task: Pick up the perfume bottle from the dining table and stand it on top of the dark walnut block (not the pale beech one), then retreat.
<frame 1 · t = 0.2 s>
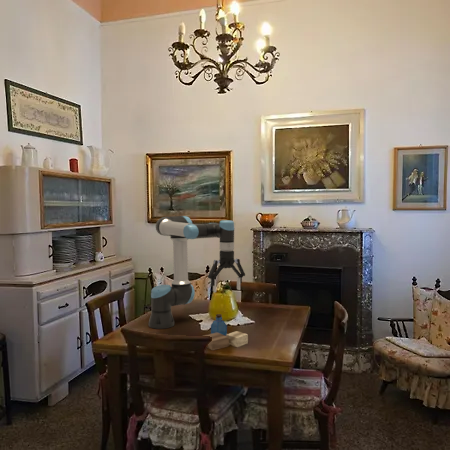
hand: (226, 290, 224), 27 cm above the table, fingers open, 13 cm apart
perfume bottle: (218, 336, 236), on the table
walnut block: (215, 346, 221), on the table
beech block: (236, 343, 224), on the table
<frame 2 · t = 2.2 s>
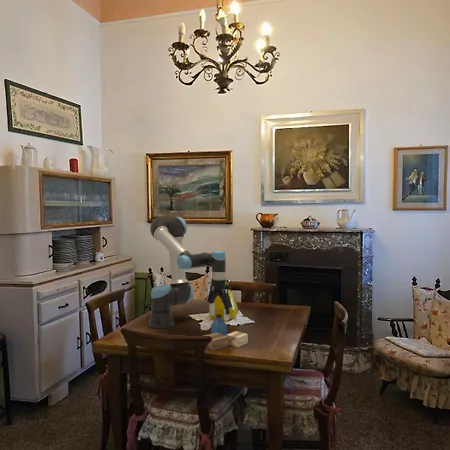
hand: (219, 317, 235), 10 cm above the table, fingers open, 13 cm apart
nothing on the table moved.
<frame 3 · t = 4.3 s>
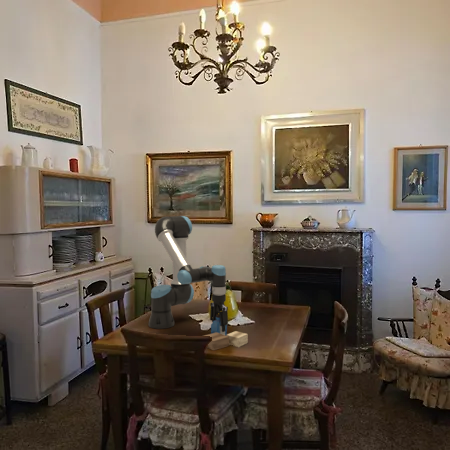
hand: (218, 335, 236), 0 cm above the table, fingers closed on perfume bottle, 6 cm apart
perfume bottle: (218, 336, 236), on the table, touching gripper
everything else where it was.
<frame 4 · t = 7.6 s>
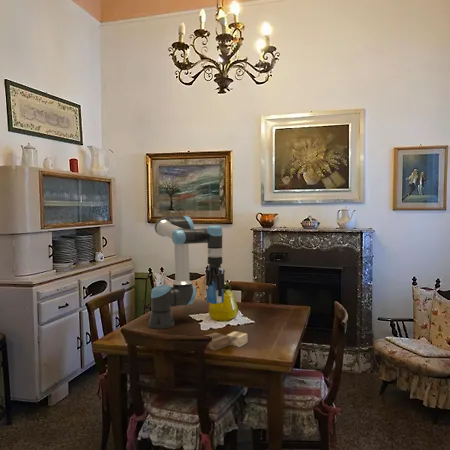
hand: (215, 301, 220), 23 cm above the table, fingers closed on perfume bottle, 6 cm apart
perfume bottle: (215, 302, 220), point 22 cm above the table, touching gripper
everything else where it was.
when the fingers open (7 cm above the table, at t = 11.1 s): perfume bottle drops 2 cm, resting on walnut block.
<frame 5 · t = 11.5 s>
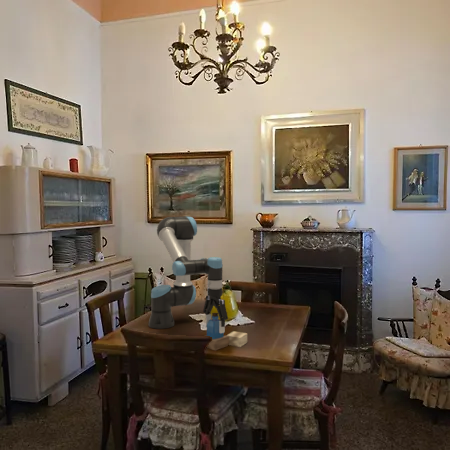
hand: (215, 329, 221), 8 cm above the table, fingers open, 11 cm apart
perfume bottle: (215, 337, 221), point 4 cm above the table, touching walnut block
walnut block: (215, 346, 221), on the table, touching perfume bottle
everything else where it was.
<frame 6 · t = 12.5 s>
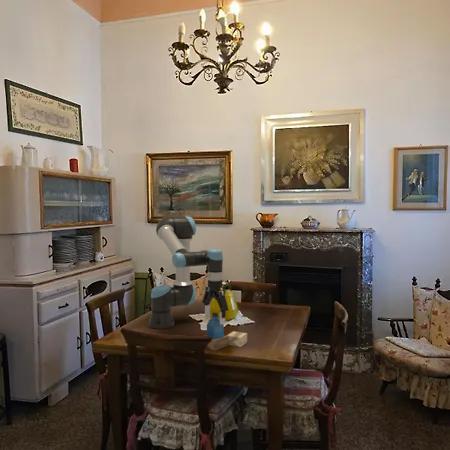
hand: (214, 320, 221), 13 cm above the table, fingers open, 13 cm apart
nothing on the table moved.
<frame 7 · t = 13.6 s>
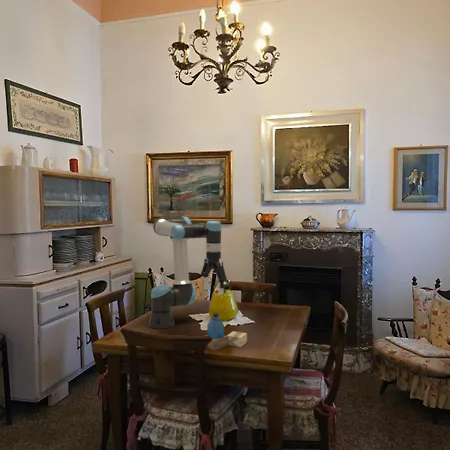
hand: (213, 291, 222), 27 cm above the table, fingers open, 13 cm apart
nothing on the table moved.
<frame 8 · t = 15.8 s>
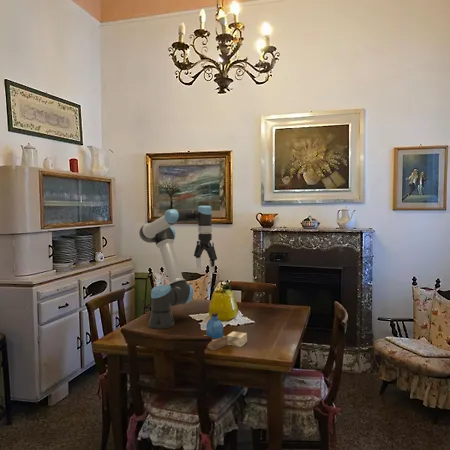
hand: (205, 270, 243), 35 cm above the table, fingers open, 13 cm apart
nothing on the table moved.
at the end: perfume bottle inside the target area on the walnut block (0.6 cm from its centre), point 4.8 cm above the walnut block's base; perfume bottle tilted 0°; the gripper is holding nothing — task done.
